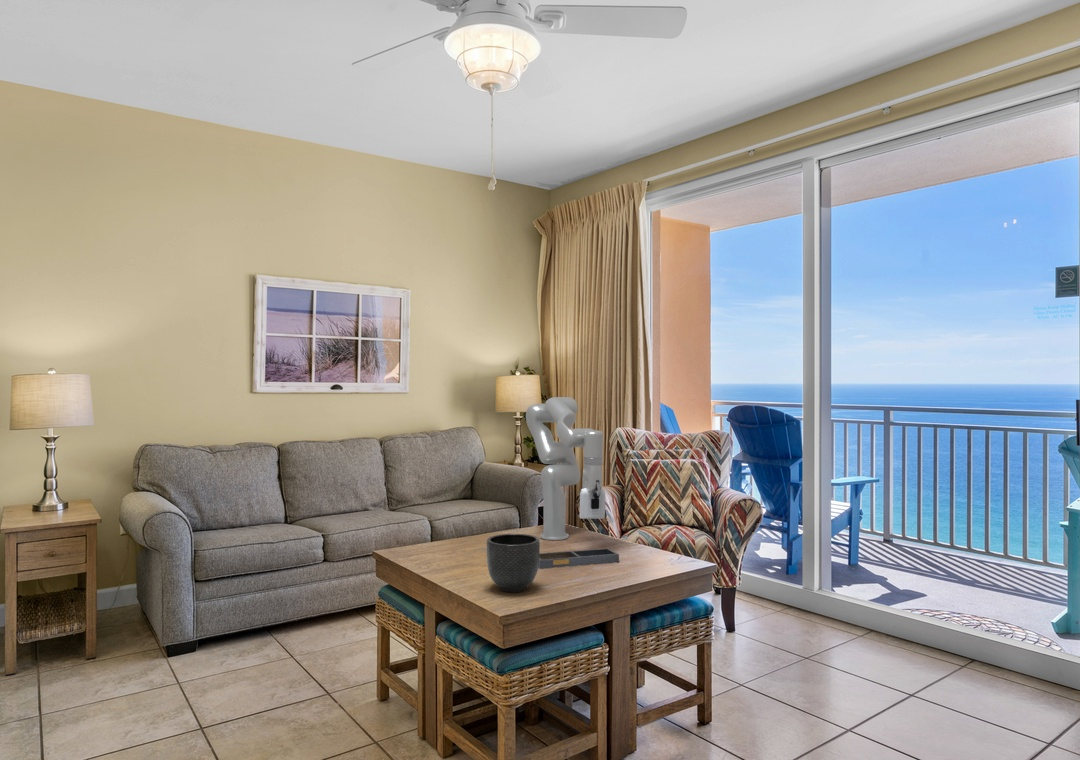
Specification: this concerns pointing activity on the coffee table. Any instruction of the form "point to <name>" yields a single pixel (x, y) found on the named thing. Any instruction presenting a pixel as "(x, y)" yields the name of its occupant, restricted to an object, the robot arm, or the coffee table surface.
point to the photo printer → (586, 505)
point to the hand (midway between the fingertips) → (592, 506)
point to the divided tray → (577, 558)
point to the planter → (513, 560)
